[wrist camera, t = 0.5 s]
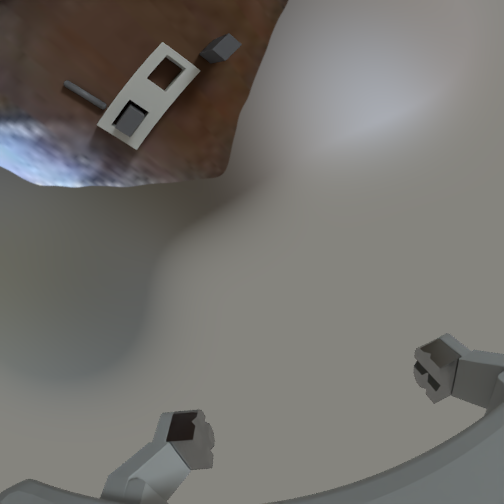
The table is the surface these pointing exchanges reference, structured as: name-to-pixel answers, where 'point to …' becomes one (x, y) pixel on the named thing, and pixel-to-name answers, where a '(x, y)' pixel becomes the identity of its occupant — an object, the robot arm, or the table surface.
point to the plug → (220, 49)
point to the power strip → (141, 98)
